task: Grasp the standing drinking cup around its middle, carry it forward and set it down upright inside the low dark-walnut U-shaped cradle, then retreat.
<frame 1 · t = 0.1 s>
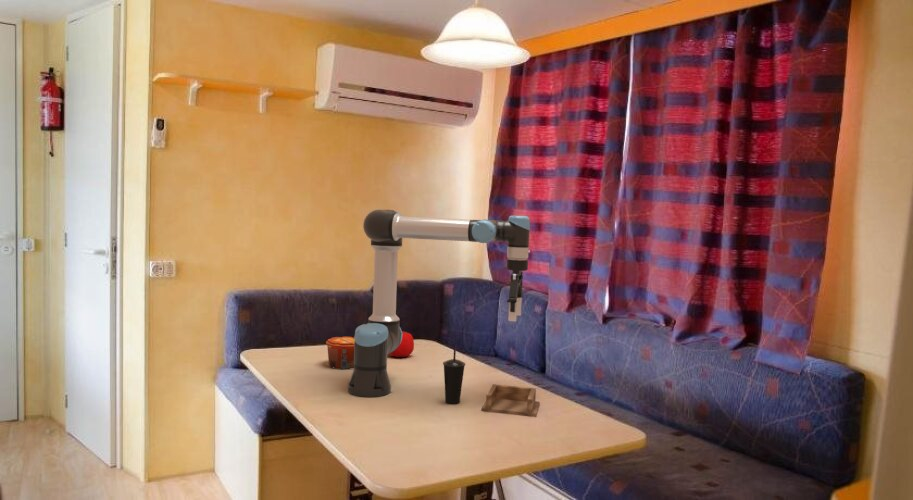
hand: (514, 318, 233), 28 cm above the table, fingers open, 13 cm apart
tomato: (398, 357, 288), on the table
u rest: (511, 407, 219), on the table
food container: (344, 366, 267), on the table
drinking cup: (452, 403, 222), on the table
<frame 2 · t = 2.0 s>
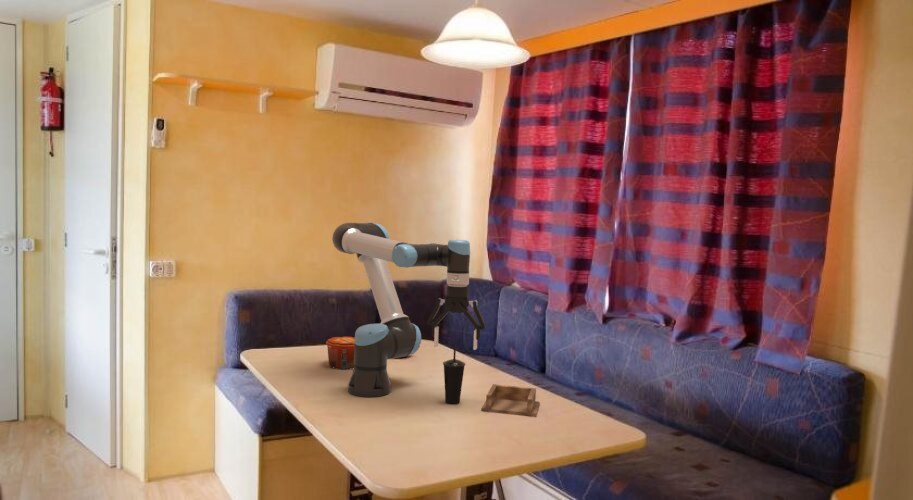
hand: (455, 347, 221), 19 cm above the table, fingers open, 13 cm apart
nothing on the table moved.
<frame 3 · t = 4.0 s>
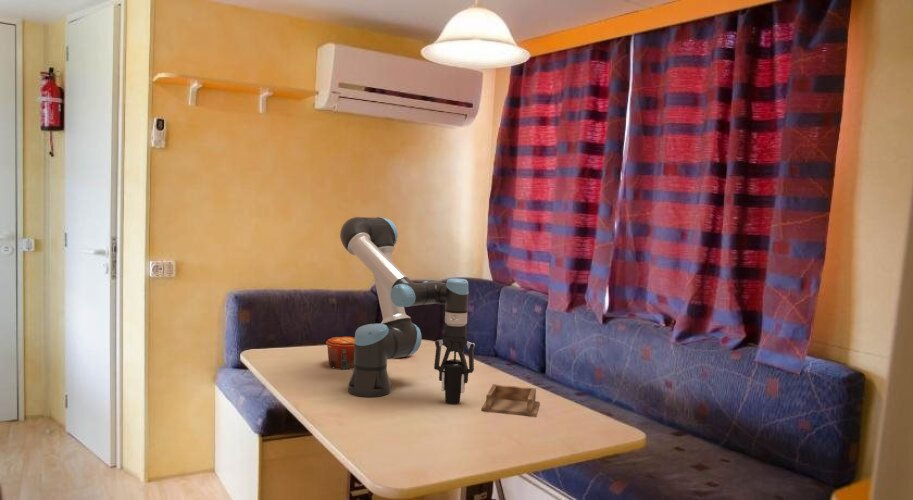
hand: (453, 391, 222), 4 cm above the table, fingers closed on drinking cup, 6 cm apart
drinking cup: (452, 402, 222), on the table, touching gripper
everything else where it was.
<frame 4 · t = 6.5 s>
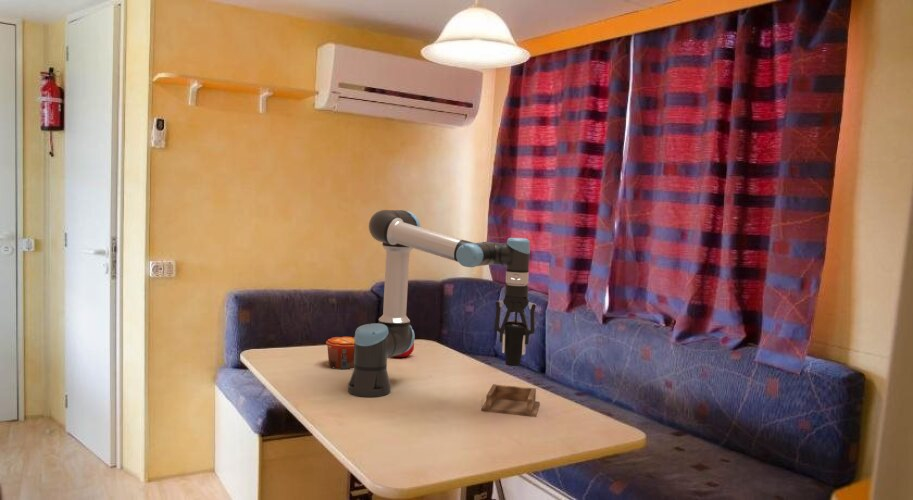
hand: (513, 352, 218), 19 cm above the table, fingers closed on drinking cup, 6 cm apart
drinking cup: (512, 364, 218), point 15 cm above the table, touching gripper
everything else where it was.
when the fingers open (6 cm above the table, at t = 9.0 s): drinking cup drops 1 cm, resting on u rest.
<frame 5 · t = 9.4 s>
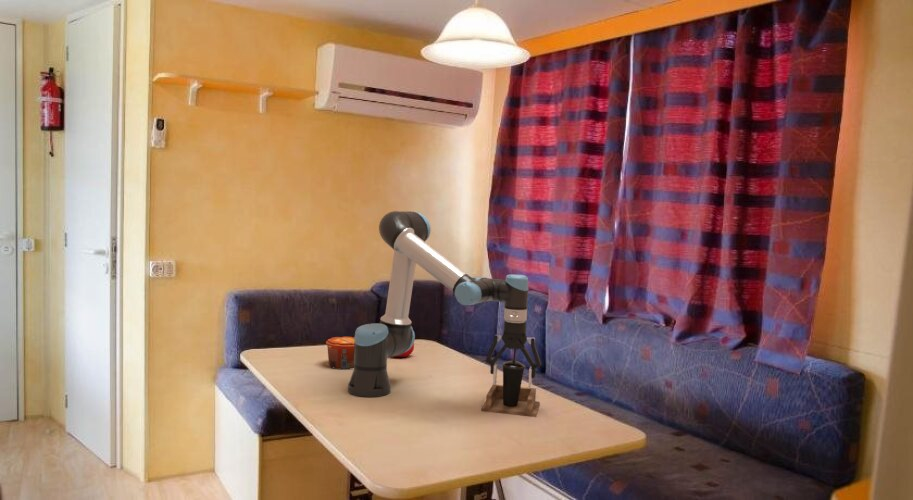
hand: (512, 385, 219), 8 cm above the table, fingers open, 11 cm apart
drinking cup: (510, 404, 219), point 1 cm above the table, touching u rest
everything else where it was.
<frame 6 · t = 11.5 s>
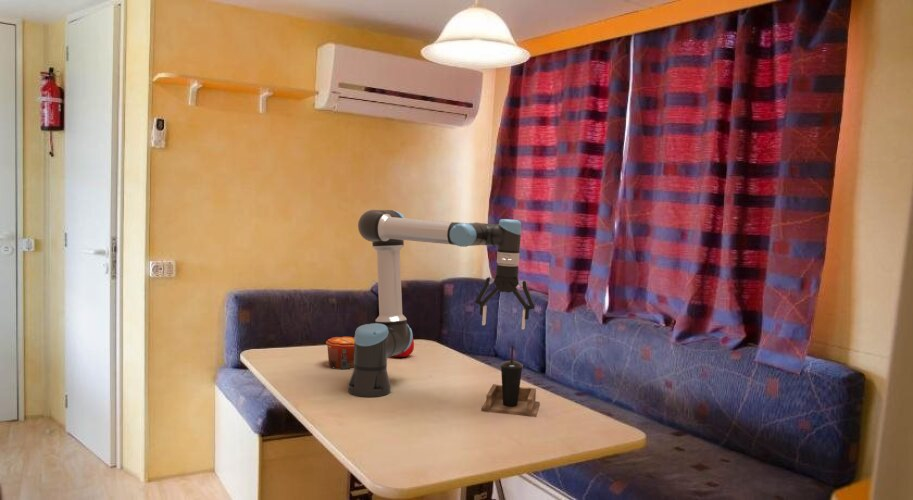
hand: (503, 326, 222), 27 cm above the table, fingers open, 13 cm apart
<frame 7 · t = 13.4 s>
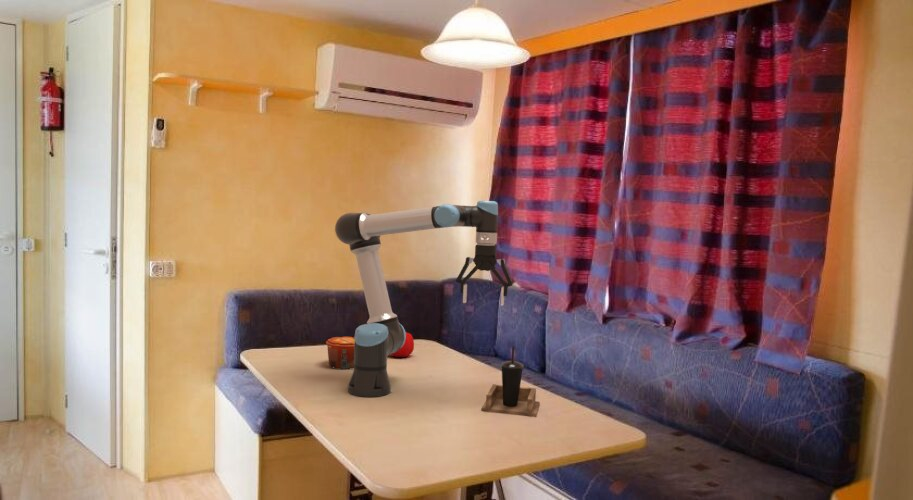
hand: (483, 304, 231), 33 cm above the table, fingers open, 13 cm apart
nothing on the table moved.
at the end: drinking cup 0.3 cm from the u rest (horizontally); drinking cup tilted 1°; the gripper is holding nothing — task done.
